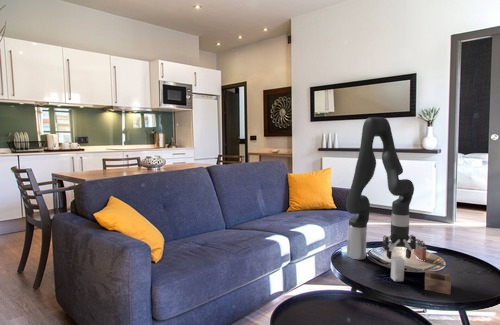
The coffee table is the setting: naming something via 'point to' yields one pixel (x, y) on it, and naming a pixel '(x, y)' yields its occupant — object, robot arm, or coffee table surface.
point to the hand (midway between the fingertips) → (398, 258)
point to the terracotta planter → (420, 250)
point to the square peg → (397, 268)
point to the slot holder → (437, 282)
